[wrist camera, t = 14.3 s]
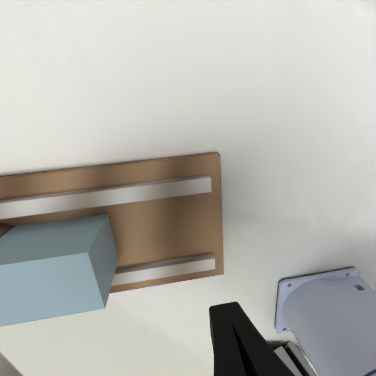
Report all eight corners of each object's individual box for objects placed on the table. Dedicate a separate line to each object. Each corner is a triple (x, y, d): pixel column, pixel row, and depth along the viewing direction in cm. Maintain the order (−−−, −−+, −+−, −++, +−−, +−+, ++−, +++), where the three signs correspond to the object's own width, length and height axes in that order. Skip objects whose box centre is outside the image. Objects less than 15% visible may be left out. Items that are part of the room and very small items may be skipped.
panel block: (107, 213, 17) (87, 252, 12) (118, 258, 18) (104, 308, 14) (15, 225, 16) (-43, 271, 11) (35, 271, 18) (-9, 328, 13)
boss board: (216, 152, 17) (238, 166, 13) (220, 267, 21) (238, 309, 17) (-46, 181, 15) (-134, 210, 11) (15, 300, 20) (-30, 359, 15)
